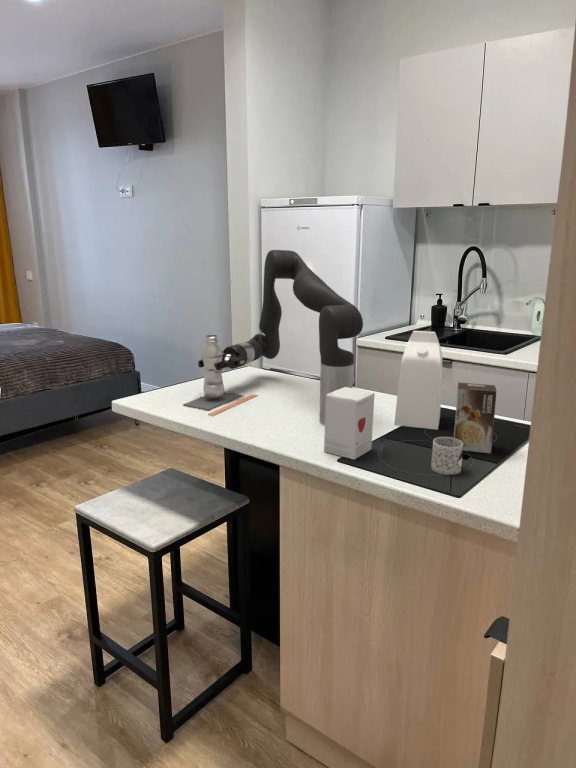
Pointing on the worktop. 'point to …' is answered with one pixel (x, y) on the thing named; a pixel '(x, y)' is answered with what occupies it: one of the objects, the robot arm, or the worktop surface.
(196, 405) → the mat
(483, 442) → the brown food box
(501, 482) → the worktop surface
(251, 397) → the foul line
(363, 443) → the supplement box
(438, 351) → the milk
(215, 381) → the plastic bottle
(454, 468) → the mug
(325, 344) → the robot arm
